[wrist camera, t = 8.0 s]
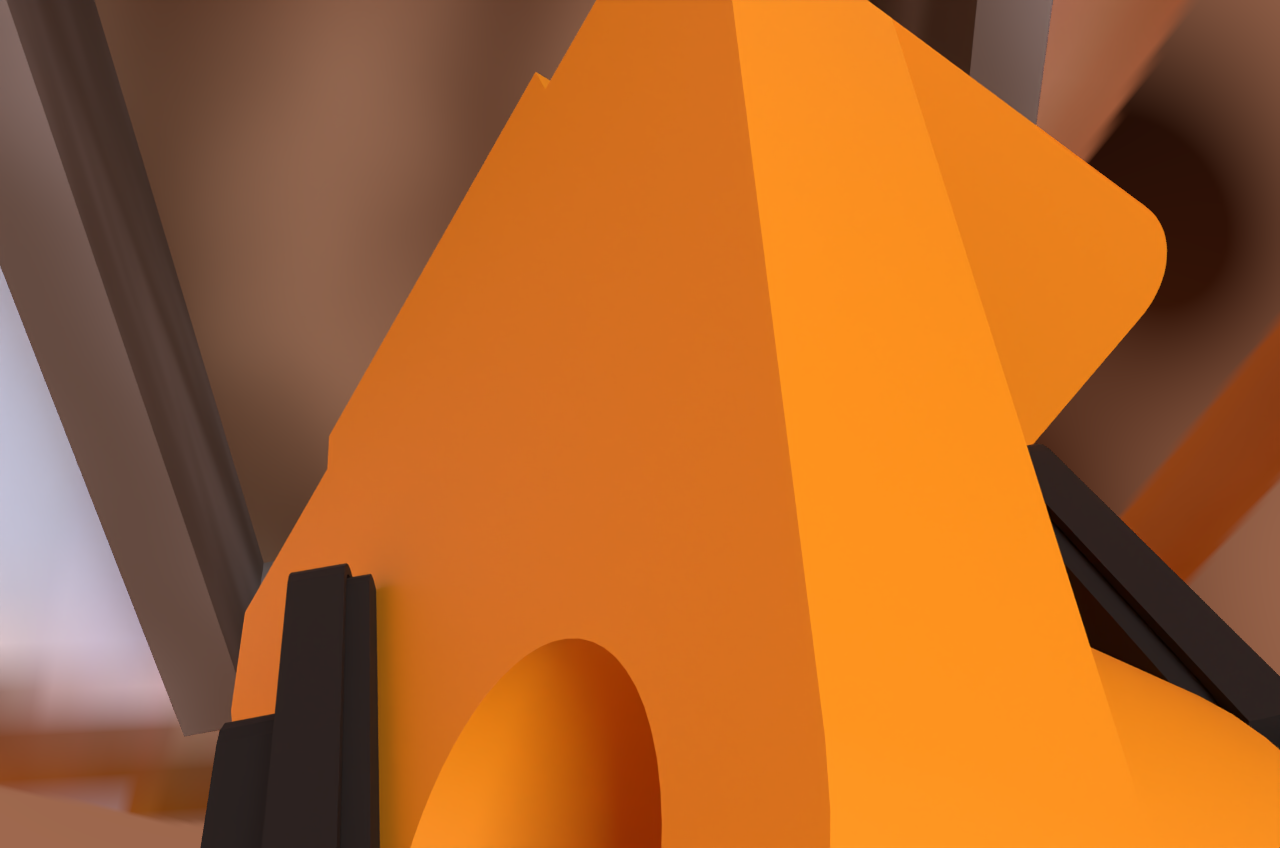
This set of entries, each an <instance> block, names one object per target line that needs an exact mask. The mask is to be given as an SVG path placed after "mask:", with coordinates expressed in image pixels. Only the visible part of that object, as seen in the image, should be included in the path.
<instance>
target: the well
mask: <svg viewBox="0 0 1280 848" xmlns="http://www.w3.org/2000/svg"><path fill="white" fill-rule="evenodd" d="M868 1H869V2H871V3H872V4H873V5H875V6H876V7H877V8H879V9H880V10H882V11H883V12H884V13H886V14H887V15H888V16H890V17H891V18H892V19H894V20H895V21H896V22H898V23H899V24H900V25H902V26H903V27H904V28H906V29H907V30H908V31H910V32H911V33H912V34H914V35H915V36H917V37H918V38H919V39H921V40H922V41H923V42H925V43H926V44H927V45H929V46H930V47H931V48H933V49H934V50H935V51H937V52H938V53H939V54H941V55H942V56H943V57H945V58H946V59H947V60H949V61H950V62H951V63H953V64H954V65H956V66H957V67H958V68H960V69H961V70H962V71H964V72H965V73H966V74H968V75H969V76H970V77H972V78H973V79H974V80H976V81H977V82H978V83H980V84H981V85H982V86H984V87H985V88H986V89H988V90H989V91H991V92H992V93H993V94H995V95H996V96H997V97H999V98H1000V99H1001V100H1003V101H1004V102H1005V103H1007V104H1008V105H1009V106H1011V107H1012V108H1013V109H1015V110H1016V111H1017V112H1019V113H1020V114H1021V115H1023V116H1024V117H1026V118H1027V119H1028V120H1030V121H1031V122H1032V123H1034V124H1035V125H1036V122H1037V115H1038V107H1039V100H1040V92H1041V85H1042V78H1043V70H1044V63H1045V55H1046V48H1047V41H1048V33H1049V26H1050V18H1051V11H1052V4H1053V0H868ZM595 2H596V0H0V266H1V269H2V271H3V274H4V276H5V279H6V281H7V284H8V287H9V289H10V292H11V294H12V297H13V299H14V302H15V305H16V307H17V310H18V312H19V315H20V317H21V320H22V322H23V325H24V328H25V330H26V333H27V335H28V338H29V340H30V343H31V345H32V348H33V351H34V353H35V356H36V358H37V361H38V363H39V366H40V368H41V371H42V374H43V376H44V379H45V381H46V384H47V386H48V389H49V391H50V394H51V397H52V399H53V402H54V404H55V407H56V409H57V412H58V414H59V417H60V420H61V422H62V425H63V427H64V430H65V432H66V435H67V438H68V440H69V443H70V445H71V448H72V450H73V453H74V455H75V458H76V461H77V463H78V466H79V468H80V471H81V473H82V476H83V478H84V481H85V484H86V486H87V489H88V491H89V494H90V496H91V499H92V501H93V504H94V507H95V509H96V512H97V514H98V517H99V519H100V522H101V524H102V527H103V530H104V532H105V535H106V537H107V540H108V542H109V545H110V547H111V550H112V553H113V555H114V558H115V560H116V563H117V565H118V568H119V571H120V573H121V576H122V578H123V581H124V583H125V586H126V588H127V591H128V594H129V596H130V599H131V601H132V604H133V606H134V609H135V611H136V614H137V617H138V619H139V622H140V624H141V627H142V629H143V632H144V634H145V637H146V640H147V642H148V645H149V647H150V650H151V652H152V655H153V657H154V660H155V663H156V665H157V668H158V670H159V673H160V675H161V678H162V680H163V683H164V686H165V688H166V691H167V693H168V696H169V698H170V701H171V703H172V706H173V709H174V711H175V714H176V716H177V719H178V721H179V724H180V727H181V729H182V732H183V734H184V736H190V735H195V734H200V733H206V732H211V731H216V730H220V729H221V728H222V726H223V725H224V723H227V722H232V716H231V707H232V700H233V693H234V686H235V679H236V672H237V665H238V658H239V651H240V644H241V637H242V630H243V623H244V616H245V612H246V610H247V608H248V606H249V605H250V603H251V601H252V599H253V598H254V596H255V594H256V592H257V591H258V589H259V587H260V585H261V584H262V582H263V580H264V578H265V577H266V575H267V573H268V572H269V570H270V568H271V566H272V565H273V563H274V561H275V559H276V558H277V556H278V554H279V552H280V551H281V549H282V547H283V545H284V544H285V542H286V540H287V538H288V537H289V535H290V533H291V531H292V530H293V528H294V526H295V524H296V523H297V521H298V519H299V517H300V516H301V514H302V512H303V511H304V509H305V507H306V505H307V504H308V502H309V500H310V498H311V497H312V495H313V493H314V491H315V490H316V488H317V486H318V484H319V483H320V481H321V479H322V477H323V476H324V474H325V472H326V470H327V466H328V448H329V435H330V434H331V432H332V430H333V428H334V427H335V425H336V423H337V421H338V419H339V418H340V416H341V414H342V412H343V411H344V409H345V407H346V405H347V404H348V402H349V400H350V398H351V397H352V395H353V393H354V391H355V389H356V388H357V386H358V384H359V382H360V381H361V379H362V377H363V375H364V374H365V372H366V370H367V368H368V367H369V365H370V363H371V361H372V359H373V358H374V356H375V354H376V352H377V351H378V349H379V347H380V345H381V344H382V342H383V340H384V338H385V337H386V335H387V333H388V331H389V329H390V328H391V326H392V324H393V322H394V321H395V319H396V317H397V315H398V314H399V312H400V310H401V308H402V307H403V305H404V303H405V301H406V299H407V298H408V296H409V294H410V292H411V291H412V289H413V287H414V285H415V284H416V282H417V280H418V278H419V277H420V275H421V273H422V271H423V270H424V268H425V266H426V264H427V262H428V261H429V259H430V257H431V255H432V254H433V252H434V250H435V248H436V247H437V245H438V243H439V241H440V240H441V238H442V236H443V234H444V232H445V231H446V229H447V227H448V225H449V224H450V222H451V220H452V218H453V217H454V215H455V213H456V211H457V210H458V208H459V206H460V204H461V202H462V201H463V199H464V197H465V195H466V194H467V192H468V190H469V188H470V187H471V185H472V183H473V181H474V180H475V178H476V176H477V174H478V172H479V171H480V169H481V167H482V165H483V164H484V162H485V160H486V158H487V157H488V155H489V153H490V151H491V150H492V148H493V146H494V144H495V142H496V141H497V139H498V137H499V135H500V134H501V132H502V130H503V128H504V127H505V125H506V123H507V121H508V120H509V118H510V116H511V114H512V113H513V111H514V109H515V107H516V105H517V104H518V102H519V100H520V98H521V97H522V95H523V93H524V91H525V90H526V88H527V86H528V84H529V83H530V81H531V79H532V77H533V75H534V74H535V72H537V73H538V74H540V75H542V76H543V77H545V78H547V79H548V80H551V78H552V76H553V75H554V73H555V71H556V70H557V68H558V66H559V64H560V63H561V61H562V59H563V57H564V56H565V54H566V52H567V50H568V49H569V47H570V45H571V43H572V42H573V40H574V38H575V36H576V35H577V33H578V31H579V29H580V28H581V26H582V24H583V22H584V21H585V19H586V17H587V15H588V14H589V12H590V10H591V8H592V7H593V5H594V3H595Z"/></svg>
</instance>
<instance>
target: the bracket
mask: <svg viewBox="0 0 1280 848" xmlns="http://www.w3.org/2000/svg"><path fill="white" fill-rule="evenodd" d="M1166 259H1167V245H1166V238H1165V235H1164V231H1163V229H1162V226H1161V224H1160V222H1159V221H1158V219H1157V218H1156V216H1155V215H1154V214H1153V213H1152V212H1151V211H1150V210H1149V209H1148V208H1147V207H1145V206H1144V205H1143V204H1141V203H1140V202H1138V201H1137V200H1136V199H1134V198H1133V197H1132V196H1130V195H1129V194H1127V193H1126V192H1125V191H1124V190H1122V189H1121V188H1120V187H1118V186H1117V185H1115V184H1114V183H1113V182H1112V181H1110V180H1109V179H1108V178H1106V177H1105V176H1104V175H1102V174H1101V173H1100V172H1098V171H1097V170H1095V169H1094V168H1093V167H1091V166H1090V165H1089V164H1087V163H1086V162H1085V161H1083V160H1082V159H1081V158H1079V157H1078V156H1077V155H1075V154H1074V153H1073V152H1071V151H1070V150H1069V149H1067V148H1066V147H1065V146H1063V145H1062V144H1060V143H1059V142H1058V141H1056V140H1055V139H1054V138H1052V137H1051V136H1050V135H1048V134H1047V133H1046V132H1044V131H1043V130H1042V129H1040V128H1039V127H1038V126H1036V125H1035V124H1034V123H1032V122H1031V121H1030V120H1028V119H1027V118H1026V117H1024V116H1023V115H1021V114H1020V113H1019V112H1017V111H1016V110H1015V109H1013V108H1012V107H1011V106H1009V105H1008V104H1007V103H1005V102H1004V101H1003V100H1001V99H1000V98H999V97H997V96H996V95H995V94H993V93H992V92H991V91H989V90H988V89H986V88H985V87H984V86H982V85H981V84H980V83H978V82H977V81H976V80H974V79H973V78H972V77H970V76H969V75H968V74H966V73H965V72H964V71H962V70H961V69H960V68H958V67H957V66H956V65H954V64H953V63H951V62H950V61H949V60H947V59H946V58H945V57H943V56H942V55H941V54H939V53H938V52H937V51H935V50H934V49H933V48H931V47H930V46H929V45H927V44H926V43H925V42H923V41H922V40H921V39H919V38H918V37H917V36H915V35H914V34H912V33H911V32H910V31H908V30H907V29H906V28H904V27H903V26H902V25H900V24H899V23H898V22H896V21H895V20H894V19H892V18H891V17H890V16H888V15H887V14H886V13H884V12H883V11H882V10H880V9H879V8H877V7H876V6H875V5H873V4H872V3H871V2H869V1H868V0H596V2H595V3H594V5H593V7H592V8H591V10H590V12H589V14H588V15H587V17H586V19H585V21H584V22H583V24H582V26H581V28H580V29H579V31H578V33H577V35H576V36H575V38H574V40H573V42H572V43H571V45H570V47H569V49H568V50H567V52H566V54H565V56H564V57H563V59H562V61H561V63H560V64H559V66H558V68H557V70H556V71H555V73H554V75H553V76H552V78H551V80H548V79H547V78H545V77H543V76H542V75H540V74H538V73H537V72H535V74H534V75H533V77H532V79H531V81H530V83H529V84H528V86H527V88H526V90H525V91H524V93H523V95H522V97H521V98H520V100H519V102H518V104H517V105H516V107H515V109H514V111H513V113H512V114H511V116H510V118H509V120H508V121H507V123H506V125H505V127H504V128H503V130H502V132H501V134H500V135H499V137H498V139H497V141H496V142H495V144H494V146H493V148H492V150H491V151H490V153H489V155H488V157H487V158H486V160H485V162H484V164H483V165H482V167H481V169H480V171H479V172H478V174H477V176H476V178H475V180H474V181H473V183H472V185H471V187H470V188H469V190H468V192H467V194H466V195H465V197H464V199H463V201H462V202H461V204H460V206H459V208H458V210H457V211H456V213H455V215H454V217H453V218H452V220H451V222H450V224H449V225H448V227H447V229H446V231H445V232H444V234H443V236H442V238H441V240H440V241H439V243H438V245H437V247H436V248H435V250H434V252H433V254H432V255H431V257H430V259H429V261H428V262H427V264H426V266H425V268H424V270H423V271H422V273H421V275H420V277H419V278H418V280H417V282H416V284H415V285H414V287H413V289H412V291H411V292H410V294H409V296H408V298H407V299H406V301H405V303H404V305H403V307H402V308H401V310H400V312H399V314H398V315H397V317H396V319H395V321H394V322H393V324H392V326H391V328H390V329H389V331H388V333H387V335H386V337H385V338H384V340H383V342H382V344H381V345H380V347H379V349H378V351H377V352H376V354H375V356H374V358H373V359H372V361H371V363H370V365H369V367H368V368H367V370H366V372H365V374H364V375H363V377H362V379H361V381H360V382H359V384H358V386H357V388H356V389H355V391H354V393H353V395H352V397H351V398H350V400H349V402H348V404H347V405H346V407H345V409H344V411H343V412H342V414H341V416H340V418H339V419H338V421H337V423H336V425H335V427H334V428H333V430H332V432H331V434H330V435H329V448H328V466H327V470H326V472H325V474H324V476H323V477H322V479H321V481H320V483H319V484H318V486H317V488H316V490H315V491H314V493H313V495H312V497H311V498H310V500H309V502H308V504H307V505H306V507H305V509H304V511H303V512H302V514H301V516H300V517H299V519H298V521H297V523H296V524H295V526H294V528H293V530H292V531H291V533H290V535H289V537H288V538H287V540H286V542H285V544H284V545H283V547H282V549H281V551H280V552H279V554H278V556H277V558H276V559H275V561H274V563H273V565H272V566H271V568H270V570H269V572H268V573H267V575H266V577H265V578H264V580H263V582H262V584H261V585H260V587H259V589H258V591H257V592H256V594H255V596H254V598H253V599H252V601H251V603H250V605H249V606H248V608H247V610H246V612H245V616H244V623H243V630H242V637H241V644H240V651H239V658H238V665H237V672H236V679H235V686H234V693H233V700H232V707H231V716H232V722H233V721H238V720H243V719H248V718H254V717H259V716H264V715H269V714H274V713H275V705H276V695H277V684H278V674H279V664H280V654H281V643H282V633H283V623H284V613H285V603H286V592H287V582H288V577H289V574H290V573H292V572H298V571H304V570H309V569H315V568H321V567H327V566H332V565H338V564H344V563H347V564H348V565H349V567H350V570H351V573H352V576H353V577H355V576H361V575H366V574H371V575H372V577H373V579H374V583H375V587H376V608H377V678H378V747H379V816H380V848H1280V750H1279V749H1278V748H1277V747H1276V746H1275V745H1274V744H1272V743H1271V742H1270V741H1269V740H1268V739H1267V738H1265V737H1264V736H1263V735H1261V734H1260V733H1258V732H1257V731H1256V730H1254V729H1253V728H1251V727H1250V726H1248V725H1247V724H1246V723H1244V722H1243V721H1241V720H1240V719H1239V718H1237V717H1236V716H1234V715H1233V714H1231V713H1229V712H1227V711H1226V710H1224V709H1222V708H1220V707H1218V706H1217V705H1215V704H1213V703H1211V702H1209V701H1207V700H1206V699H1204V698H1202V697H1200V696H1198V695H1196V694H1194V693H1191V692H1189V691H1187V690H1185V689H1183V688H1180V687H1178V686H1176V685H1174V684H1171V683H1169V682H1167V681H1165V680H1162V679H1160V678H1158V677H1156V676H1154V675H1151V674H1149V673H1147V672H1145V671H1142V670H1140V669H1138V668H1136V667H1133V666H1131V665H1129V664H1127V663H1124V662H1122V661H1120V660H1118V659H1116V658H1113V657H1111V656H1109V655H1107V654H1104V653H1102V652H1100V651H1098V650H1095V649H1093V648H1091V647H1090V645H1089V641H1088V638H1087V635H1086V632H1085V629H1084V626H1083V622H1082V619H1081V616H1080V613H1079V610H1078V606H1077V603H1076V600H1075V597H1074V594H1073V591H1072V587H1071V584H1070V581H1069V578H1068V575H1067V572H1066V568H1065V565H1064V562H1063V559H1062V556H1061V553H1060V549H1059V546H1058V543H1057V540H1056V537H1055V534H1054V530H1053V527H1052V524H1051V521H1050V518H1049V515H1048V511H1047V508H1046V505H1045V502H1044V499H1043V495H1042V492H1041V489H1040V486H1039V483H1038V480H1037V476H1036V473H1035V470H1034V467H1033V464H1032V461H1031V457H1030V454H1029V451H1028V448H1027V445H1031V444H1033V443H1034V442H1035V441H1036V440H1037V439H1038V437H1039V436H1040V435H1041V434H1042V433H1043V432H1044V431H1045V429H1046V428H1047V427H1048V426H1049V425H1050V423H1051V422H1052V421H1053V420H1054V419H1055V417H1056V416H1057V415H1058V414H1059V413H1060V412H1061V410H1062V409H1063V408H1064V407H1065V406H1066V405H1067V403H1068V402H1069V401H1070V400H1071V399H1072V398H1073V396H1074V395H1075V394H1076V393H1077V392H1078V390H1079V389H1080V388H1081V387H1082V386H1083V385H1084V383H1085V382H1086V381H1087V380H1088V379H1089V378H1090V376H1091V375H1092V374H1093V373H1094V371H1095V370H1096V369H1097V368H1098V367H1099V366H1100V365H1101V363H1102V362H1103V361H1104V360H1105V359H1106V358H1107V356H1108V355H1109V354H1110V353H1111V352H1112V350H1113V349H1114V348H1115V347H1116V346H1117V345H1118V343H1119V342H1120V341H1121V340H1122V339H1123V338H1124V336H1125V335H1126V334H1127V333H1128V332H1129V331H1130V329H1131V328H1132V327H1133V326H1134V324H1135V323H1136V322H1137V321H1138V320H1139V319H1140V318H1141V316H1142V315H1143V314H1144V312H1145V311H1146V310H1147V308H1148V307H1149V305H1150V304H1151V302H1152V301H1153V299H1154V297H1155V295H1156V293H1157V290H1158V289H1159V287H1160V284H1161V281H1162V278H1163V275H1164V271H1165V267H1166Z"/></svg>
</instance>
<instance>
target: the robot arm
mask: <svg viewBox="0 0 1280 848" xmlns="http://www.w3.org/2000/svg"><path fill="white" fill-rule="evenodd" d="M1027 448H1028V451H1029V454H1030V457H1031V461H1032V464H1033V467H1034V470H1035V473H1036V476H1037V480H1038V483H1039V486H1040V489H1041V492H1042V495H1043V499H1044V502H1045V505H1046V508H1047V511H1048V515H1049V518H1050V521H1051V524H1052V527H1053V530H1054V534H1055V537H1056V540H1057V543H1058V546H1059V549H1060V553H1061V556H1062V559H1063V562H1064V565H1065V568H1066V572H1067V575H1068V578H1069V581H1070V584H1071V587H1072V591H1073V594H1074V597H1075V600H1076V603H1077V606H1078V610H1079V613H1080V616H1081V619H1082V622H1083V626H1084V629H1085V632H1086V635H1087V638H1088V641H1089V645H1090V647H1091V648H1093V649H1095V650H1098V651H1100V652H1102V653H1104V654H1107V655H1109V656H1111V657H1113V658H1116V659H1118V660H1120V661H1122V662H1124V663H1127V664H1129V665H1131V666H1133V667H1136V668H1138V669H1140V670H1142V671H1145V672H1147V673H1149V674H1151V675H1154V676H1156V677H1158V678H1160V679H1162V680H1165V681H1167V682H1169V683H1171V684H1174V685H1176V686H1178V687H1180V688H1183V689H1185V690H1187V691H1189V692H1191V693H1194V694H1196V695H1198V696H1200V697H1202V698H1204V699H1206V700H1207V701H1209V702H1211V703H1213V704H1215V705H1217V706H1218V707H1220V708H1222V709H1224V710H1226V711H1227V712H1229V713H1231V714H1233V715H1234V716H1236V717H1237V718H1239V719H1240V720H1241V721H1243V722H1244V723H1246V724H1247V725H1248V726H1250V727H1251V728H1253V729H1254V730H1256V731H1257V732H1258V733H1260V734H1261V735H1263V736H1264V737H1265V738H1267V739H1268V740H1269V741H1270V742H1271V743H1272V744H1274V745H1275V746H1276V747H1277V748H1278V749H1279V750H1280V676H1279V675H1278V674H1277V673H1276V672H1275V671H1274V670H1273V669H1272V668H1271V667H1270V666H1269V665H1268V664H1266V662H1265V661H1264V660H1263V659H1262V658H1261V657H1259V656H1258V655H1257V654H1256V653H1255V652H1254V651H1253V650H1252V649H1251V648H1250V647H1249V646H1248V645H1247V644H1246V643H1245V642H1244V641H1243V640H1242V639H1241V638H1240V637H1239V636H1238V635H1237V634H1236V633H1235V632H1234V631H1233V630H1232V629H1231V628H1230V627H1229V626H1228V625H1227V624H1226V623H1225V622H1224V621H1223V620H1222V619H1221V618H1220V617H1219V616H1218V615H1217V614H1216V613H1215V612H1214V611H1213V610H1212V609H1211V608H1210V607H1209V606H1208V605H1207V604H1206V603H1205V602H1204V601H1203V600H1202V599H1201V598H1200V597H1199V596H1198V595H1197V594H1196V593H1195V592H1194V591H1193V590H1192V589H1191V588H1190V587H1189V586H1188V585H1187V584H1186V583H1185V582H1184V581H1183V580H1182V579H1181V578H1180V577H1179V576H1178V575H1177V574H1175V573H1174V572H1173V571H1172V570H1171V569H1170V568H1169V567H1168V566H1167V565H1166V564H1165V563H1164V562H1163V561H1162V560H1161V559H1160V558H1159V557H1158V556H1157V555H1156V554H1155V553H1154V552H1153V551H1152V550H1151V549H1150V548H1149V547H1148V546H1147V545H1146V544H1145V543H1144V542H1143V541H1142V540H1141V539H1140V538H1139V537H1138V536H1137V535H1136V534H1135V533H1134V532H1133V531H1132V530H1131V529H1130V528H1129V527H1128V526H1127V525H1126V524H1125V523H1124V522H1123V521H1122V520H1121V519H1120V518H1119V517H1118V516H1117V515H1116V514H1115V513H1114V512H1113V511H1112V510H1111V509H1110V508H1108V507H1107V505H1106V504H1104V502H1103V501H1102V500H1101V499H1099V498H1098V496H1097V495H1095V494H1094V493H1093V492H1092V491H1091V490H1090V489H1089V488H1088V487H1087V486H1086V485H1085V484H1084V483H1083V482H1082V481H1081V480H1080V479H1079V478H1078V477H1077V476H1076V475H1075V474H1074V473H1073V472H1072V471H1071V470H1070V469H1069V468H1068V467H1067V466H1066V465H1065V464H1064V463H1063V462H1062V461H1061V460H1060V459H1059V458H1058V457H1057V456H1056V455H1055V454H1054V453H1053V452H1052V451H1051V450H1050V449H1049V448H1047V447H1046V446H1044V445H1043V444H1031V445H1027ZM201 848H380V816H379V747H378V678H377V608H376V587H375V583H374V579H373V577H372V575H371V574H366V575H361V576H355V577H353V576H352V573H351V570H350V567H349V565H348V564H347V563H344V564H338V565H332V566H327V567H321V568H315V569H309V570H304V571H298V572H292V573H290V574H289V577H288V582H287V592H286V603H285V613H284V623H283V633H282V643H281V654H280V664H279V674H278V684H277V695H276V705H275V713H274V714H269V715H264V716H259V717H254V718H248V719H243V720H238V721H233V722H227V723H224V725H223V726H222V728H221V729H220V732H219V736H218V740H217V745H216V751H215V758H214V764H213V771H212V777H211V784H210V790H209V797H208V803H207V810H206V816H205V823H204V829H203V836H202V842H201Z"/></svg>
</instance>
